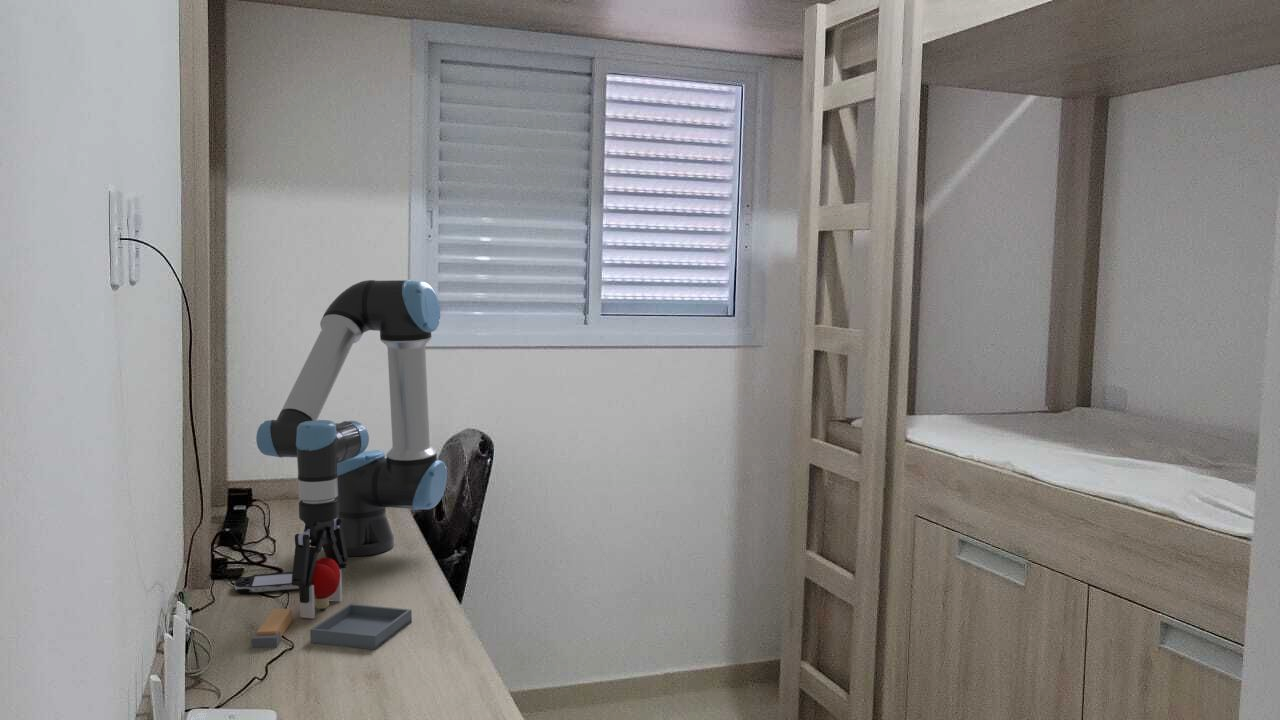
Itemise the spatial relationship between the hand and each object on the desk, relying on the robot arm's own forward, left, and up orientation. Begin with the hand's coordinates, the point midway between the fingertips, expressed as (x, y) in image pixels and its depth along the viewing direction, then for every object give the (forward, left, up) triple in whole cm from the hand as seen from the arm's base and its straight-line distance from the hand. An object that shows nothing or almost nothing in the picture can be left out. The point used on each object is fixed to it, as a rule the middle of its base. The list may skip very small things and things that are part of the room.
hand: (321, 608), depth 207 cm
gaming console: (-11, -16, -1) cm, 20 cm away
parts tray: (+9, +14, 0) cm, 17 cm away
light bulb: (0, 0, 0) cm, 0 cm away
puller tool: (+13, -2, 0) cm, 13 cm away
